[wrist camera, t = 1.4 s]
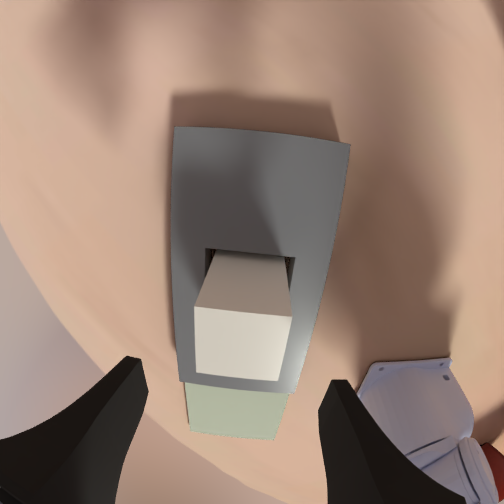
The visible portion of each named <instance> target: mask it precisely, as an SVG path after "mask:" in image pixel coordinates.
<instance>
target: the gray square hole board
mask: <svg viewBox="0 0 504 504" xmlns="http://www.w3.org/2000/svg"><path fill="white" fill-rule="evenodd" d="M350 145H351V144H346V143H340V142H335V141H329V140H324V139H318V138H311V137H305V136H298V135H290V134H282V133H274V132H265V131H255V130H243V129H229V128H211V127H174V140H173V157H172V181H171V272H172V296H173V314H174V328H175V341H176V352H177V362H178V372H179V381H180V382H186V383H192V384H199V385H205V386H212V387H220V388H228V389H237V390H247V391H258V392H272V393H291V394H294V393H295V390H296V387H297V384H298V380H299V377H300V374H301V371H302V367H303V364H304V361H305V357H306V354H307V351H308V347H309V344H310V340H311V336H312V333H313V329H314V325H315V322H316V318H317V314H318V310H319V306H320V302H321V298H322V294H323V290H324V286H325V282H326V277H327V273H328V269H329V264H330V260H331V255H332V250H333V245H334V241H335V236H336V231H337V225H338V220H339V215H340V209H341V204H342V198H343V192H344V186H345V180H346V173H347V167H348V160H349V153H350ZM211 249H220V250H230V251H240V252H249V253H259V254H268V255H278V256H287V257H290V262H289V269H288V275H287V280H288V287H289V294H290V302H291V309H292V322H291V326H290V331H289V335H288V340H287V344H286V349H285V353H284V357H283V362H282V366H281V370H280V374H279V378H278V381H269V380H256V379H245V378H236V377H227V376H219V375H211V374H204V373H197V372H196V356H195V324H194V306H195V303H196V300H197V298H198V295H199V293H200V290H201V288H202V285H203V283H204V280H205V278H206V275H207V273H208V270H209V268H210V258H211Z"/></svg>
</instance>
